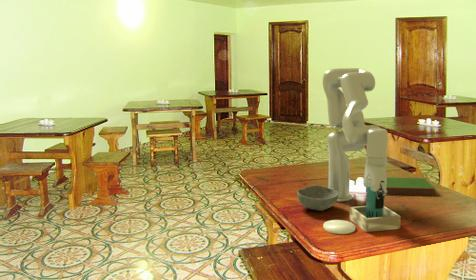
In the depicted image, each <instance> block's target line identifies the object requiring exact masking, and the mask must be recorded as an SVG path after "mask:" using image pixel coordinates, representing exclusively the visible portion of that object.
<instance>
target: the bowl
mask: <svg viewBox="0 0 476 280" xmlns="http://www.w3.org/2000/svg"><path fill="white" fill-rule="evenodd" d="M296 196H297V200H298V202H299V203H300V204H301V206H302V207H304V208H306V209H308V210H309V209H310V210H314V211H319V212H323V211H326V210H329V208H332V207H333V206H334V205H335V204H336V202H338V201H337V198H338V191H336V190H333V189H330V188H328V186H322V185H315V184H314V185H310V186H306V187H302V188H299V189H298V190H297V193H296Z"/></svg>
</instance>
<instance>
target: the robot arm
mask: <svg viewBox="0 0 476 280" xmlns="http://www.w3.org/2000/svg"><path fill="white" fill-rule="evenodd" d="M375 87H376V79H375V77H374V75H373V74H372V73H371V72H370V71H368V70H365V69H362V68H356V67H353V68H352V67H350V68H348V67H347V68H332V69H331V68H330V69H328V70H326V71H324V74H323V76H322V88H323V90H324V94H325V96H326V101H327V114H328V124H329V126H330V128H333V129H342V130H339V131H338V130H337V131H332V132H330V133H329V134H328V135H327V138H326V145H327V151H328V183H327V184H328V186H327V188H330V189H333V190H336V191H338V198H337V201H336V202H349V201H351V200H352V199H353V195H352V193H350V173H351V171H350V170H351V169H350V165H351V162H350V158H349V157H348V156H347V154H346V153H347V152H359V151H362V150H364V149H365V146H366V149H365V150H366V153H365V156H366V157H365V166H364V170H363V171H364V172H363V186H364V187H365V189H366V190H365V194H367V185H368V186H370V190H371V191H373V192H376V197H377V199H376V201H375V208H376V209H382V208H384V206H385V199H386V196H387V195H388V194H387V189H386V186H387V177H388V176H387V160H388V138H389V137H388V136H389V135H388V134H389V133H388V130H387V129H385V128H382V127H380V126H379V125H374V124H371V125H369V124H368V125H365V116H364V112H363V110H365V109H366V108H367V106H368V105H369V99H368V97H367V94H366V93H369V92H372V91H373V90H374V89H375ZM340 88H341V89H340ZM379 189H382V190H379ZM378 190H379V191H378ZM379 192H381V193H380V195H379ZM365 198H366V199H365V201H366V200H367V196H365ZM366 203H367V201H366Z"/></svg>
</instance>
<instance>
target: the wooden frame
mask: <svg viewBox="0 0 476 280" xmlns="http://www.w3.org/2000/svg"><path fill="white" fill-rule="evenodd" d="M401 217H402V216H401V215H400V214H398V213H396V212H395V211H393V210H391V209H390V208H388V207H386V206H385V205H384V208H383V217H375V218H367V217H366V205H360V206H350V207H349V220H350V222H353V224H354V225H355V226H357V227H359V228H360V229H362V230H363V231H364V232H365V233H370V232H371V233H372V232H380V231H381V232H382V231H389V230H399V229H401Z"/></svg>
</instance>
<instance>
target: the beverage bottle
mask: <svg viewBox="0 0 476 280" xmlns="http://www.w3.org/2000/svg"><path fill="white" fill-rule="evenodd" d="M379 190H382V189H379ZM379 190H378V191H379ZM380 193H381V192H379V195H380ZM365 194H366V193H365ZM366 196H367V200H366V199H365V201H367V202H366V204H365V206H366V217H367V218H375V217H383V208H382V209H376V208H375V201H376V199H377V197H376V192H373V191H371V190H370V186H368V185H367V194H366ZM366 196H365V197H366Z"/></svg>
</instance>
